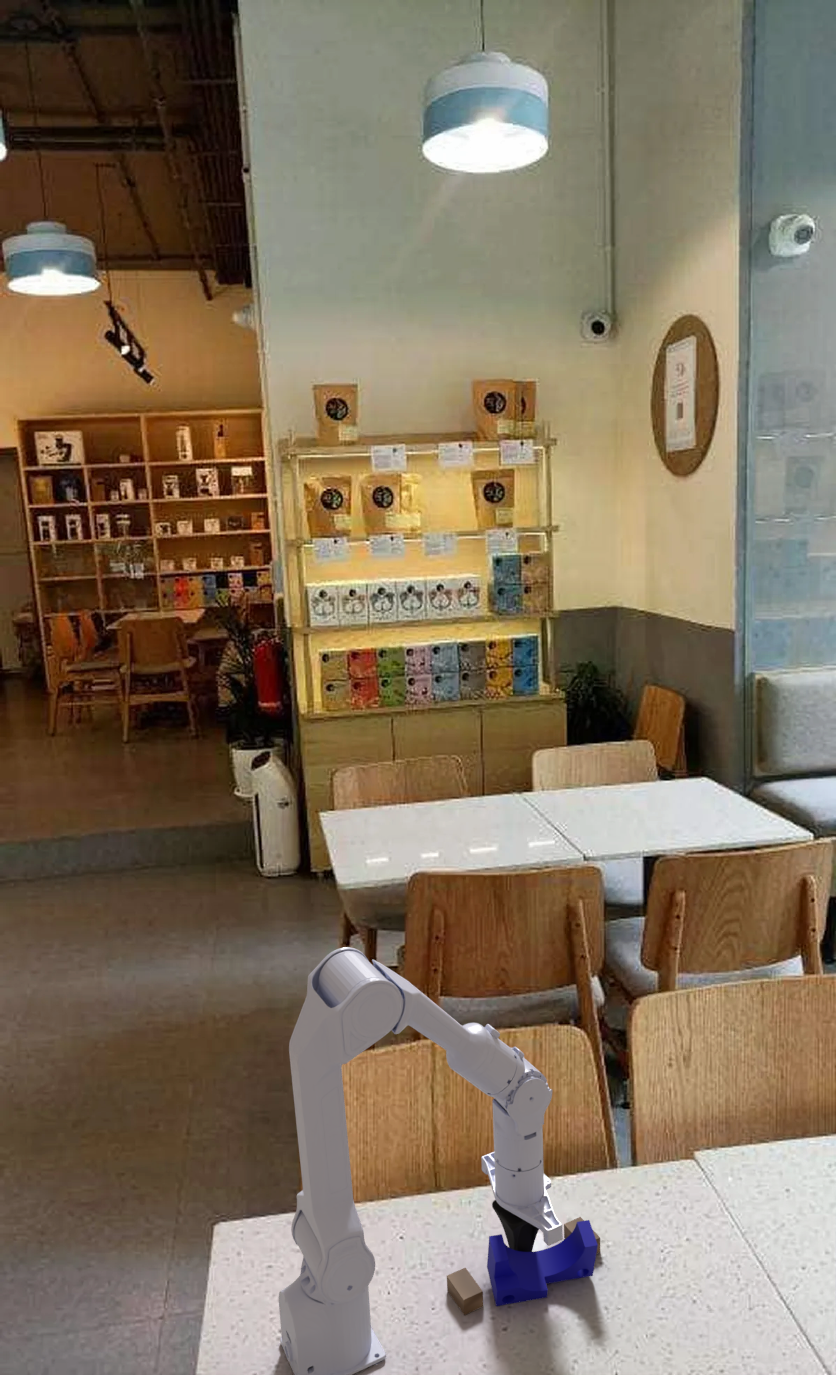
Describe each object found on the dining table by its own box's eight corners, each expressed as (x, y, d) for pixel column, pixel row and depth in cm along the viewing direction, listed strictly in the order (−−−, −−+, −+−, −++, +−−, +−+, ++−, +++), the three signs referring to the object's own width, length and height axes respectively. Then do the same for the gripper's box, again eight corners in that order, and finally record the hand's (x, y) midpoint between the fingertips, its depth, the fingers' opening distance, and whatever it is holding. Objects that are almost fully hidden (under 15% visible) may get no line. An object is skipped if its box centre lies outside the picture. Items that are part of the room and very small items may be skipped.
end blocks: (464, 1315, 107) (463, 1300, 107) (447, 1290, 111) (446, 1275, 110) (600, 1251, 115) (600, 1237, 115) (580, 1230, 119) (580, 1216, 119)
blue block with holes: (496, 1306, 108) (498, 1275, 105) (486, 1266, 112) (489, 1236, 109) (596, 1288, 110) (602, 1258, 107) (584, 1250, 114) (589, 1219, 111)
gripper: (583, 1180, 106) (585, 1285, 109) (514, 1111, 119) (517, 1207, 122) (531, 1202, 103) (534, 1310, 106) (465, 1129, 116) (469, 1227, 119)
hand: (521, 1257), depth 113 cm, fingers closed
